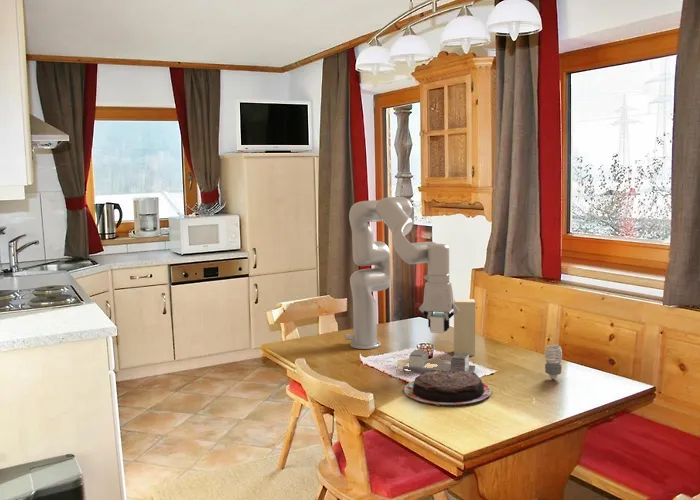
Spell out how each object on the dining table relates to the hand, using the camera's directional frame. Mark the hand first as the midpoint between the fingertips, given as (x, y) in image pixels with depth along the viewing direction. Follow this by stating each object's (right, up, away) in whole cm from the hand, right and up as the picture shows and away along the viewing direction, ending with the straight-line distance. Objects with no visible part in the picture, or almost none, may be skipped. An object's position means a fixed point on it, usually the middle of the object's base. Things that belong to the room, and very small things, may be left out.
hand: (438, 329), depth 235 cm
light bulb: (+37, -16, -11) cm, 42 cm away
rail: (0, -15, +2) cm, 15 cm away
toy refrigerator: (+13, -12, +23) cm, 30 cm away
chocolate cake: (0, -18, -22) cm, 28 cm away
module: (0, 0, 0) cm, 0 cm away
